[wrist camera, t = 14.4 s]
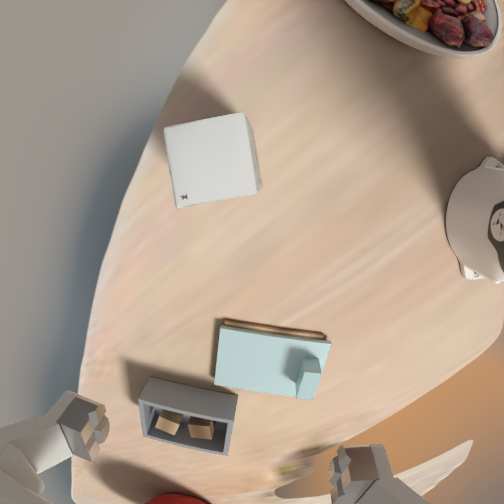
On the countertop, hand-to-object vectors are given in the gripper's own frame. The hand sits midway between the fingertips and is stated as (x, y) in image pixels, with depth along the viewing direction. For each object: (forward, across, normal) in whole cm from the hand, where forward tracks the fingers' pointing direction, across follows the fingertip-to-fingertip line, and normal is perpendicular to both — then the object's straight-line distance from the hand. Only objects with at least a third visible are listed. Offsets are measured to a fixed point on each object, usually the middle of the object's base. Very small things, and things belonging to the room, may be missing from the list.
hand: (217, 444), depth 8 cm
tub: (+31, +7, +31) cm, 45 cm away
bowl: (+32, -17, -43) cm, 56 cm away
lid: (+30, -4, +18) cm, 36 cm away
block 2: (+30, +5, +31) cm, 44 cm away
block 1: (+30, +10, +32) cm, 45 cm away
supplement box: (+31, +5, -9) cm, 33 cm away
